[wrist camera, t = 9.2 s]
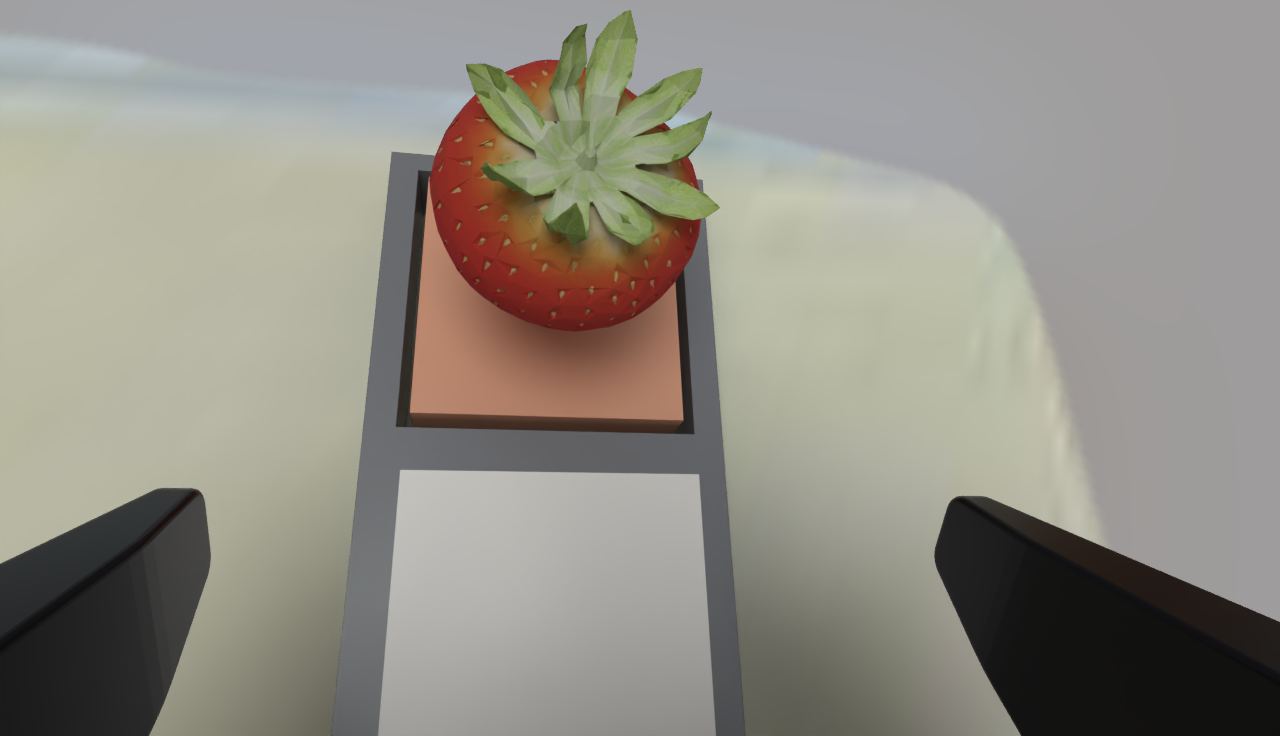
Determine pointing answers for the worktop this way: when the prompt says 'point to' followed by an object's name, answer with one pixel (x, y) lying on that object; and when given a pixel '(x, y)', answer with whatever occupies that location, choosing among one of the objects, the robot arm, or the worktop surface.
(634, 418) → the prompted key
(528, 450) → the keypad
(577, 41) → the fruit
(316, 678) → the worktop surface
